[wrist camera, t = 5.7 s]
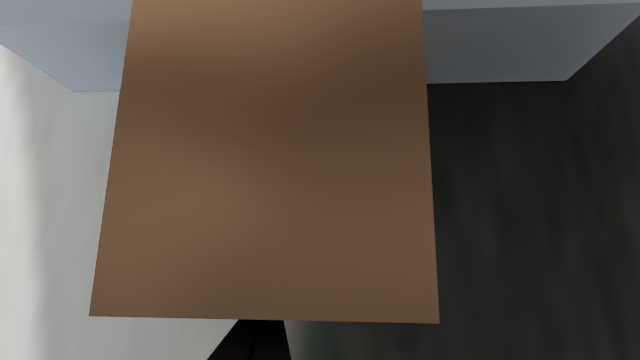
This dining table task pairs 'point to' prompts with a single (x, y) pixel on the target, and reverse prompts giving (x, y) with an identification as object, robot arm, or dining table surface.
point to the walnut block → (271, 165)
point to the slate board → (438, 21)
